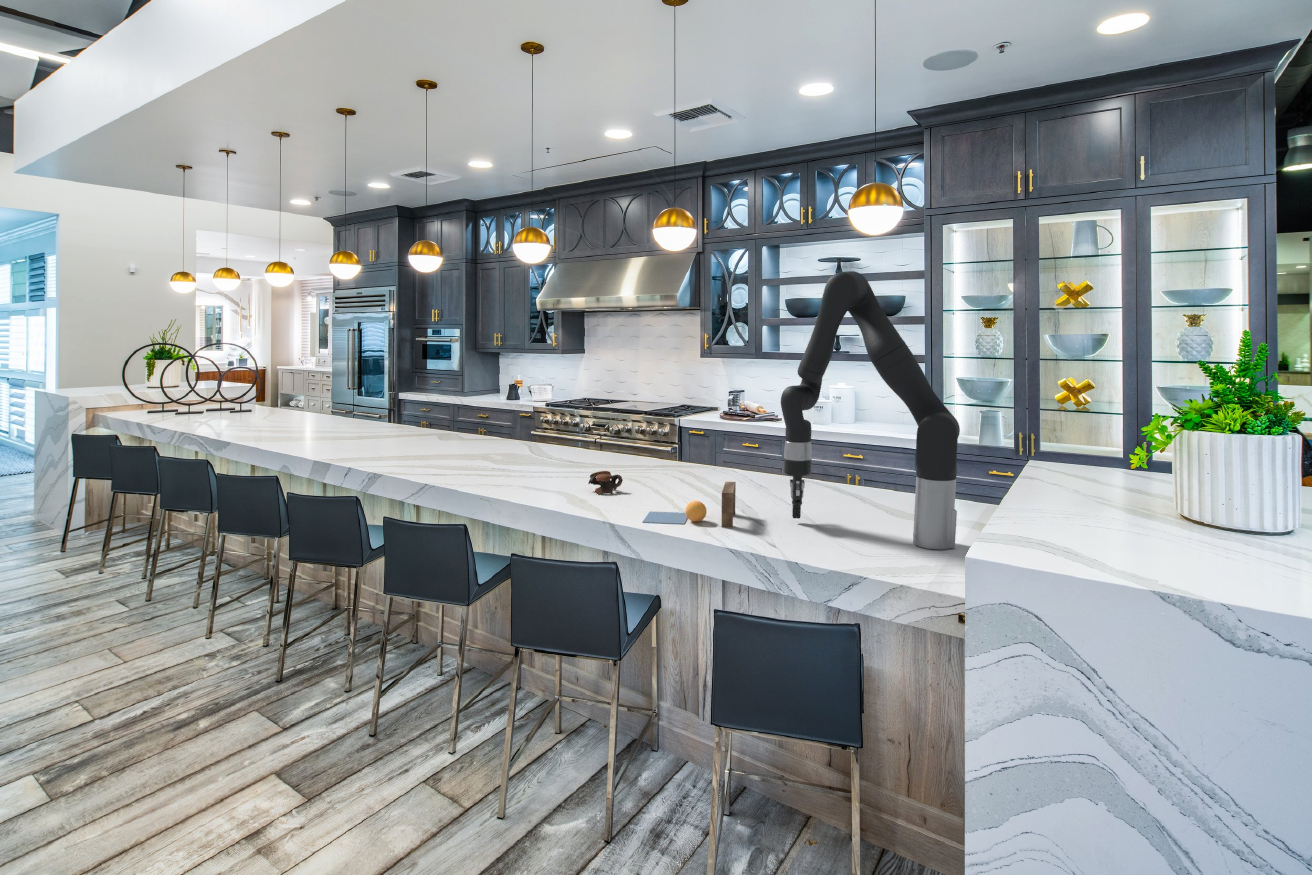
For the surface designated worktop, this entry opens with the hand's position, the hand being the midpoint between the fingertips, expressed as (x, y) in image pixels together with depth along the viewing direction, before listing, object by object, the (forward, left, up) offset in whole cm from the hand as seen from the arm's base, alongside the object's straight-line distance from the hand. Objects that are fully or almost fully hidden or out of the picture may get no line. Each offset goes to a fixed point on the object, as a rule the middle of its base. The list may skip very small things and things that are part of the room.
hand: (796, 517), depth 193 cm
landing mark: (+37, 0, -2) cm, 37 cm away
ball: (+28, +3, +2) cm, 28 cm away
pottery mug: (+63, -32, -2) cm, 70 cm away
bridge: (+19, 0, -2) cm, 19 cm away
